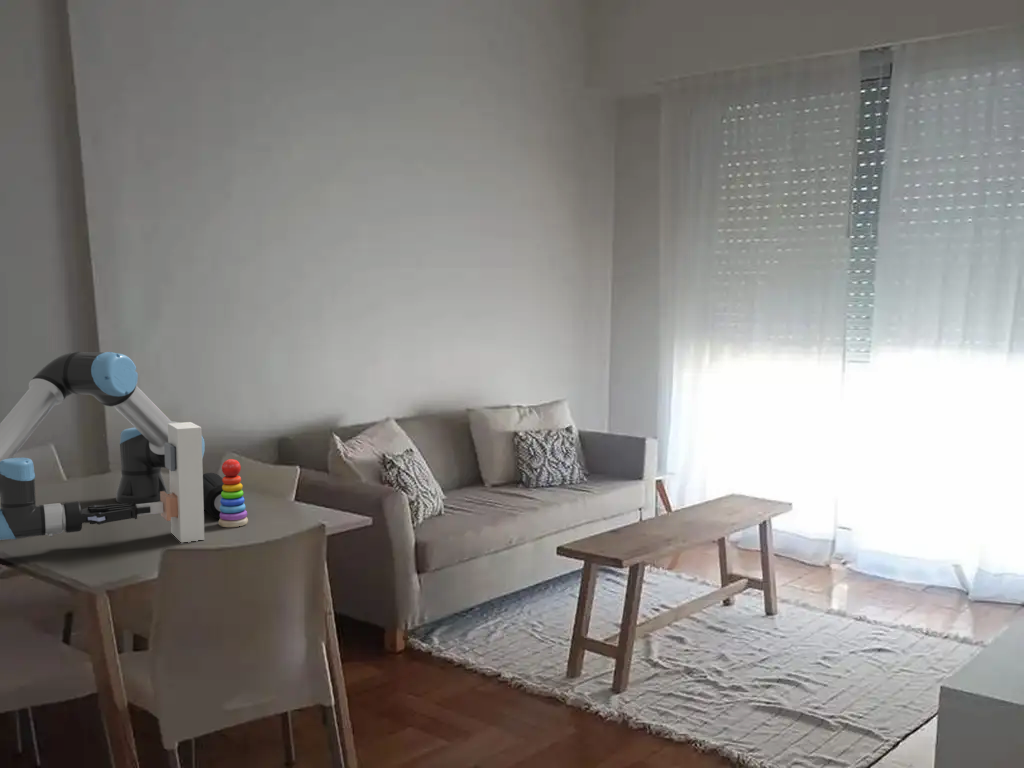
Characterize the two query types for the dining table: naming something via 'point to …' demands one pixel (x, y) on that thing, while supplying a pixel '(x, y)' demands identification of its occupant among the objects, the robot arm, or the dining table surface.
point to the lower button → (169, 505)
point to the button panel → (187, 481)
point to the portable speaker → (212, 493)
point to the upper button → (170, 456)
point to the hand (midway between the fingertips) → (162, 507)
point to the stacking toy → (232, 496)
